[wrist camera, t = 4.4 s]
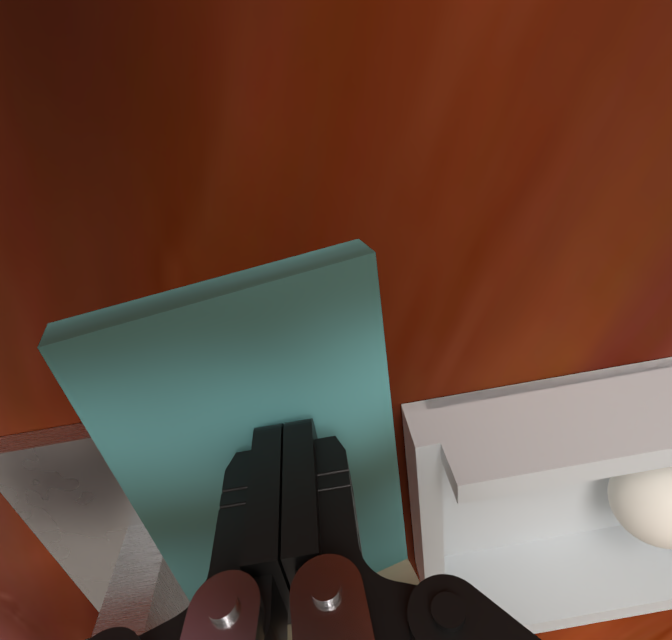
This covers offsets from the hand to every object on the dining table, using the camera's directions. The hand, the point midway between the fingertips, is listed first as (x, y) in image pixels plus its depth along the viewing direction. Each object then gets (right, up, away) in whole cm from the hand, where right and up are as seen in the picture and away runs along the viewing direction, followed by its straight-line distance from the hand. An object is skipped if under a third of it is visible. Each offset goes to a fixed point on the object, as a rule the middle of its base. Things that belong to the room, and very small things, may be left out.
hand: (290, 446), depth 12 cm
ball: (+16, -5, +9) cm, 19 cm away
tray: (+12, -4, +11) cm, 17 cm away
